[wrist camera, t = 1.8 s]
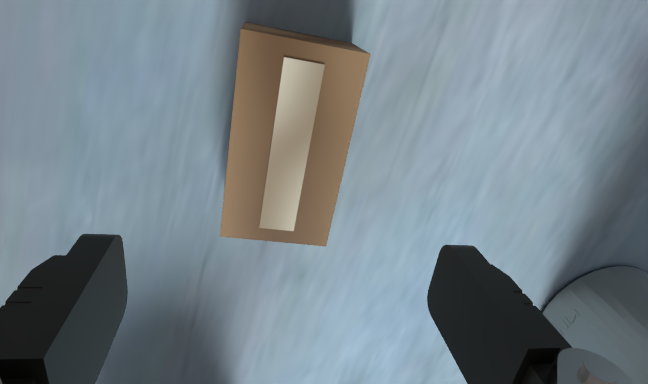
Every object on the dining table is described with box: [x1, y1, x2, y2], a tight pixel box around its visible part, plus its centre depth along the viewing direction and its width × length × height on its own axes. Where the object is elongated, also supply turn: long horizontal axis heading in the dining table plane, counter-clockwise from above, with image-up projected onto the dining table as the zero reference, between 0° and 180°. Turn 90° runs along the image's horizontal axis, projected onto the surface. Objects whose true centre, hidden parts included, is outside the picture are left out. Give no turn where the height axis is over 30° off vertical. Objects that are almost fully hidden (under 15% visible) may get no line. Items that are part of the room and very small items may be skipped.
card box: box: [220, 22, 370, 246], centre depth 19 cm, size 5×9×4 cm, turn 169°
